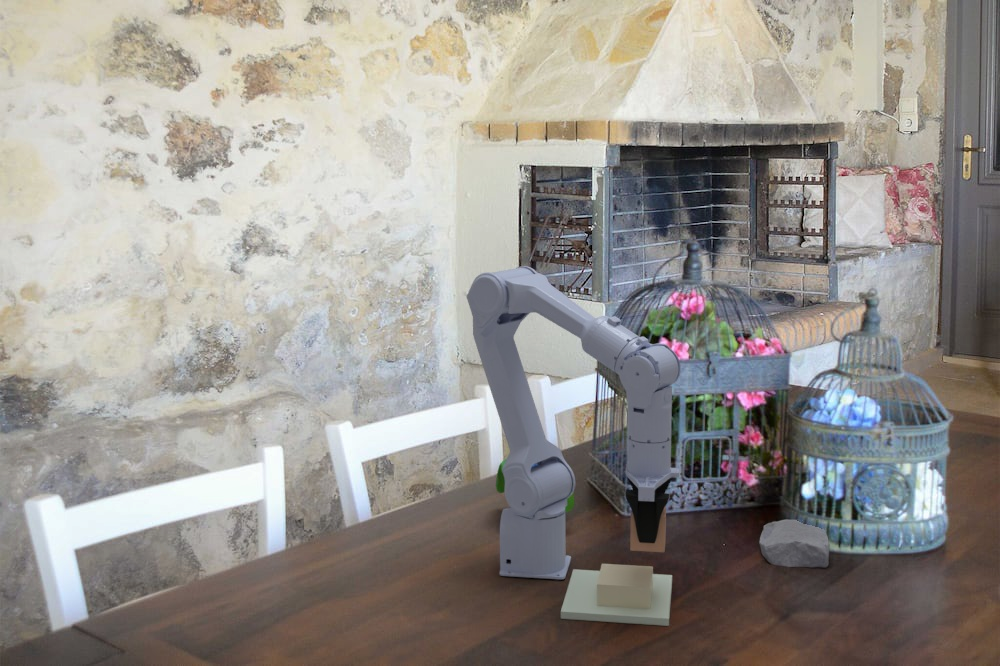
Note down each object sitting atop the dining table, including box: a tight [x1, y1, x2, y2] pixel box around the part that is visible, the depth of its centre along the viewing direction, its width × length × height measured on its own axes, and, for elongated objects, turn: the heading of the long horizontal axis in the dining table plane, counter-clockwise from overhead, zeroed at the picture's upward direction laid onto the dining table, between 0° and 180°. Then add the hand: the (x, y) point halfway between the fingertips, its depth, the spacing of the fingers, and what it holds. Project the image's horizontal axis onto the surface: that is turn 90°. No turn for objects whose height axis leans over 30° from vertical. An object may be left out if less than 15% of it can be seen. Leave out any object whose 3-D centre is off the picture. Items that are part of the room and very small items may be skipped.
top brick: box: [629, 504, 667, 553], centre depth 145 cm, size 4×4×5 cm
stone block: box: [758, 518, 830, 569], centre depth 163 cm, size 12×5×10 cm
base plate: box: [560, 563, 673, 627], centre depth 147 cm, size 14×14×4 cm
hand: (647, 534), depth 146 cm, fingers closed on top brick, 4 cm apart
